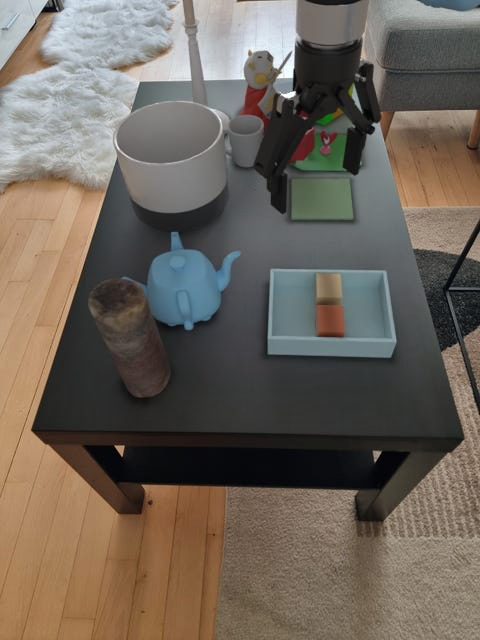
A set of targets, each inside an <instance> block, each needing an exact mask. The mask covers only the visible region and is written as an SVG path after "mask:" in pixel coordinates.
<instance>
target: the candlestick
mask: <svg viewBox="0 0 480 640" xmlns="http://www.w3.org/2000/svg"><path fill="white" fill-rule="evenodd" d="M182 8H183V15H184V20H183V21H182V22H181V26H182V27H184V34H185V35H187V38H188V41H187V45H188V57H189V69H190V78H191V79H190V80H191V92H192V102H193V103H197V104H201V105H204V106H206V107H208V108H210V106H209V102H208V95H207V91H206V84H205V78H204V72H203V67H202V60H201V59H202V58H201V54H200V48H199V41H198V39H197V34H198V32H199V29H198V25H199V24H200V20H199V19H196V17H195V8H194V0H182ZM210 109H211V110H213V111H214V112H215V113H216V114H217V115H218V116H219V117H220V119H221V121H222V124H223V128H224V127H226V126H227V125H228V123H229V121H230V120H231V119H230V118H229V116H228V115H227V114H226V113H224V112H223V111H221V110H218V109H215V108H210ZM225 135H227V133H224V136H225Z"/></svg>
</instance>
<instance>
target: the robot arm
mask: <svg viewBox="0 0 480 640" xmlns="http://www.w3.org/2000/svg"><path fill="white" fill-rule="evenodd" d="M416 1H417V2H419V3H421V4H423V5H424V6H427V7H431V8H433V9H440V8H441V9H445V10H450V11H456V12H467V11H472V10H474V9H476V8H477V7H478V6H479V5H480V0H416ZM369 2H370V0H296V5H295V9H296V10H295V32H296V34H297V35H296V36H295V38H294V57H293V68H294V69H295V73H296V76H297V84H296V87H295V90H294V92H293V91H292V92H289V93H286V94H285V93H283V92H281V91H280V90H279V91H276V93H275V95H274V98H273V109H272V114H271V117H270V119H269V122H268V125H267V128H266V130H264V132H263V139H262V142H261V145H260V147H259V150H258V153H257V156H256V159H255V161H254V164H253V166H252V169H253V170H254V171H255V172H256V173H257V174H258V175H260V176H261V177H262V178H263V179H264V180H266V190H267V191H268V192H269V194H270V206H272V207H273V208H274V209H275V210H276V211H277V212H279V214H281V215H285V214H286V213H287V208H288V207H287V203H288V200H287V199H288V173H287V172H286V171H285V170H286V168H287V166H288V165H289V164H290V159H291V158H292V156H293V154H294V153H295V151H296V149H297V147H298V146H299V144H300V142H301V141H302V139H303V137H304V136H305V134H306V132H307V131H308V130H311V129H312V128H313V127H314V128H315V125H316V123H318V122H317V120H320V119H323V118H324V117H325V116H326V115H328V114H333V113H335V112H337V109H338V108H340V109H341V110H342V112H343V113H342V114H344V115H345V117H346V118H347V119H348V120H349V122H350V123H351V124H352V125H353V126H352V125H351V126H350V127H347V131H346V135H347V137H346V144H345V152H344V159H343V166H342V167H343V168H344V169H346V170H347V171H346V172H348V173H350V174H351V175H352V176H354V177H355V176H357V175H359V171H360V162H362V155H363V151H364V149H365V147H366V142H367V138H368V137H367V136H372V135H373V134H374V133H375V131H376V127H375V126H374V124H379V123H380V122H381V121H382V118H383V117H382V112H381V107H380V104H379V100H378V94H377V91H376V87H375V84H374V83H375V82H374V70H375V65H374V63H372V62H370V61H368V60H366V59H365V58H362V52H363V45H364V37H363V35H364V33H365V32H366V24H367V18H368V10H369V4H370V3H369ZM353 82H354V86H353V87H354V89H355V93H356V95H357V99H358V102H359V106H360V108H359V107H358V106H357V104H356V101H355V100H354V99H353V96H352V97H351V96H350V95H349V92H348V91H349V90H350V88H351V86H352V84H353ZM360 109H361V110H360ZM301 111H303V112H304V113H305V114H306V115H307V116H309V117H308V118H307V117H306V118H307V119H304V118H303V117H304V116H302V115H301V114H300V113H301Z"/></svg>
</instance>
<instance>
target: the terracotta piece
mask: <svg viewBox="0 0 480 640" xmlns="http://www.w3.org/2000/svg"><path fill="white" fill-rule="evenodd" d="M315 330H316V337H337V338H344V333H345V327H344V313H343V306H333V305H317V312H316V320H315Z"/></svg>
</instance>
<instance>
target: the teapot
mask: <svg viewBox="0 0 480 640" xmlns="http://www.w3.org/2000/svg"><path fill="white" fill-rule="evenodd" d="M170 237H171V238H170V239H171V245H170V246H171V248H170V251H167V252H164V253H162V254H159V255H157V256H156V257H155V258H153V259H152V262H151V264H150V267H149V270H148V276H147V283H146V285H145V284H143V283H141V282H138V281H136V280H134V279H132V278H130V277H127V276H123V277H121V279H128V280H131V281H135V282H137V283H138V284H140V285H141V287H142V288H143V289H144V291H145V294H146V297H147V299H148V303H149V306H150V309H151V312H152V314H153V318H154V319H156V321H159V322H161V323H163V324H167V325H168V326H170V327H175V326H177V325H183V326H184V327H183V328H184V330H185V331H192V330H193V329H194V323H198V322H200V321H204V322H205V321H206V322H207V321H209V320H210V319H211V318H212V316H213V315H214V314H215V313H216V312H217V311H218V310H219V308H220V306H221V303H222V292H223V291H224V290H225V289H226V288H227V287H228V286H229V284H230V282H231V276H232V265H233V262H234V261H235V260H236V259H237V258H238V257H239V256H240V255H241V253H242V252H241V251H240V250H237V251H233V252H230V253H229V254H226V256H225V257H224V259H223V261H222V266H221V268H220V269H219V270H217V271H216V270H215V267H214V265H213V263H212V262H211V261H210V260H209V258H208V257H207V256H206V255H205V254H203V252H202V251H199V250H197V249H185V248H184V245H183V242H182V240H181V238H180V235H179V231H170Z"/></svg>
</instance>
